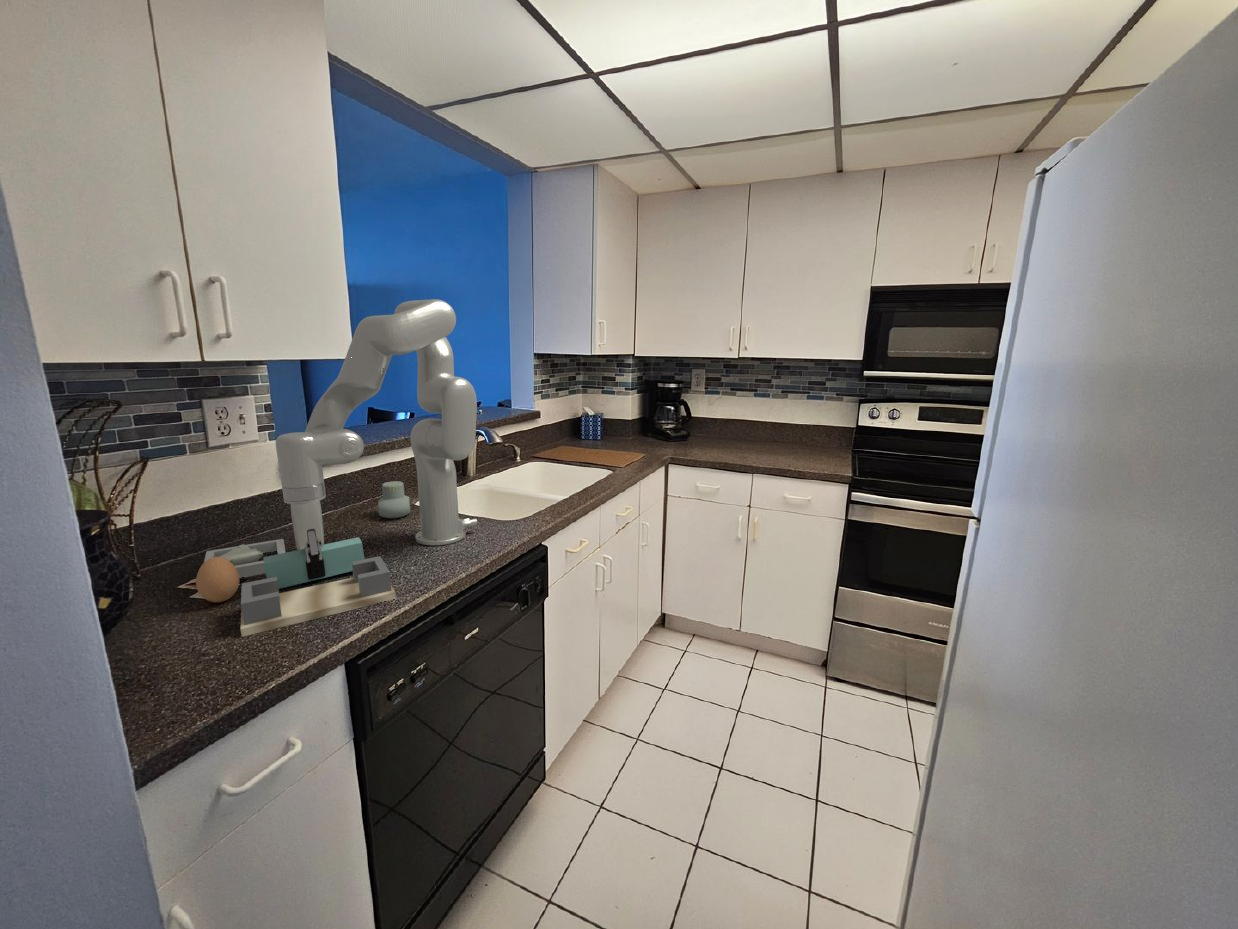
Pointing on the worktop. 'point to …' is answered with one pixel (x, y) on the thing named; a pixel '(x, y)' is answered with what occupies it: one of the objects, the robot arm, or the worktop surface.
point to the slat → (293, 563)
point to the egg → (217, 579)
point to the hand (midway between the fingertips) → (315, 573)
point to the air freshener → (393, 501)
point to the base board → (316, 604)
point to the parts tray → (254, 567)
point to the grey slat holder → (265, 600)
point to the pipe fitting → (242, 555)
